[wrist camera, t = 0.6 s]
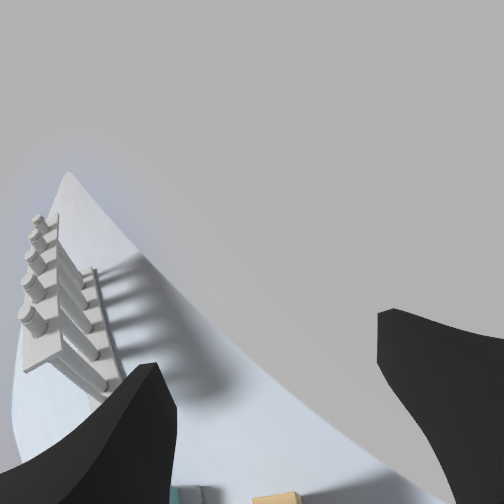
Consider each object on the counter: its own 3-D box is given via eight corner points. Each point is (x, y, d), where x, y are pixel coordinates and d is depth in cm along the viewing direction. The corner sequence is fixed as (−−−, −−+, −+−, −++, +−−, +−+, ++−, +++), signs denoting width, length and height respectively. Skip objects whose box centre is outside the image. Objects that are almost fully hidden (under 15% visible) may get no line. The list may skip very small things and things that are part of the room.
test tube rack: (70, 283, 42) (26, 214, 33) (93, 270, 43) (51, 198, 34) (98, 426, 24) (3, 356, 15) (133, 409, 25) (44, 331, 17)
